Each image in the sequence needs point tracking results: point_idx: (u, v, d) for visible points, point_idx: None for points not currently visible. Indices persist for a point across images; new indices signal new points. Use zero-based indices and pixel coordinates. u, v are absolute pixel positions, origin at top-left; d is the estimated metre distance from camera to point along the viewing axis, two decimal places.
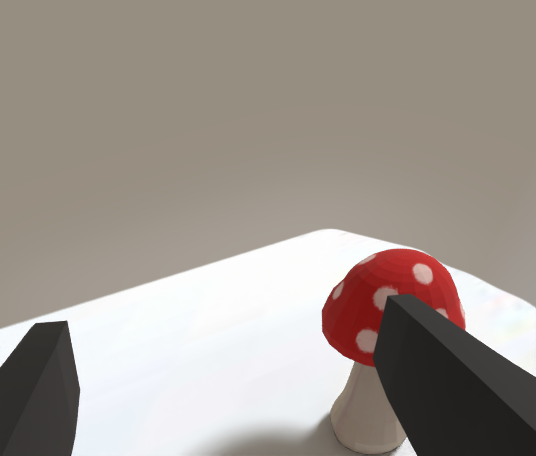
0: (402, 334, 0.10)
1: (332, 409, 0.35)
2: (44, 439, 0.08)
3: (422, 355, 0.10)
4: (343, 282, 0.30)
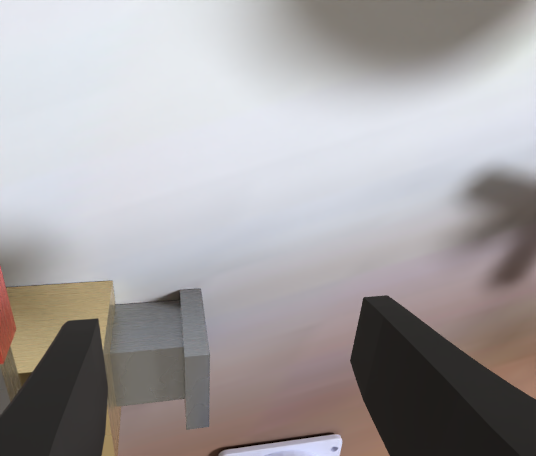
0: (377, 336, 0.10)
1: None
2: (82, 434, 0.08)
3: (395, 358, 0.09)
4: None
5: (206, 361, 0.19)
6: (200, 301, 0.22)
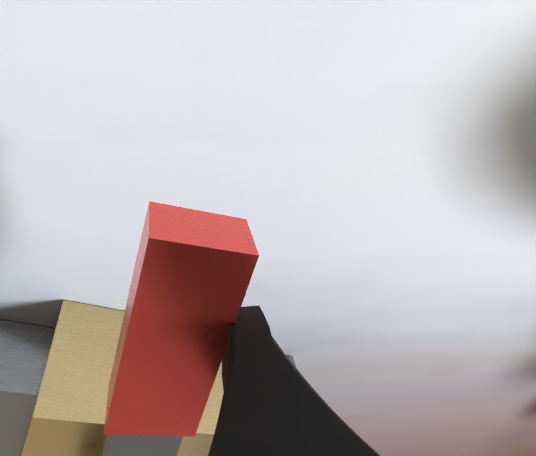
0: (229, 351, 0.09)
1: None
2: None
3: None
4: None
5: None
6: None
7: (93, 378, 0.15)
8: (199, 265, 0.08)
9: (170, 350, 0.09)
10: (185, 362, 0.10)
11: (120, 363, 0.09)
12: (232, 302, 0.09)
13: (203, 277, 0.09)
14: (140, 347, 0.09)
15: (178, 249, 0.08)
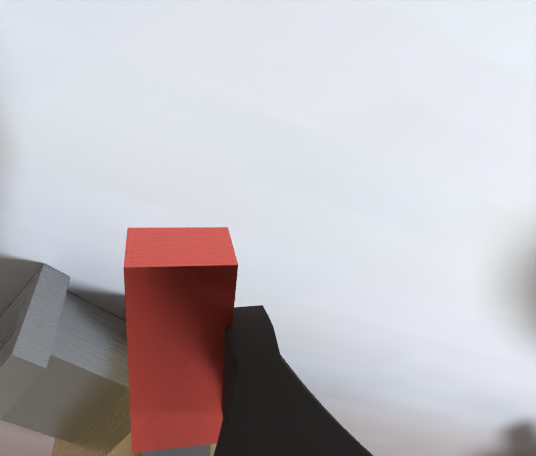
0: (224, 352, 0.09)
1: None
2: None
3: None
4: None
5: None
6: None
7: None
8: (181, 284, 0.09)
9: (174, 367, 0.09)
10: (192, 376, 0.10)
11: (130, 386, 0.10)
12: (224, 313, 0.09)
13: (188, 294, 0.09)
14: (144, 369, 0.09)
15: (156, 272, 0.08)
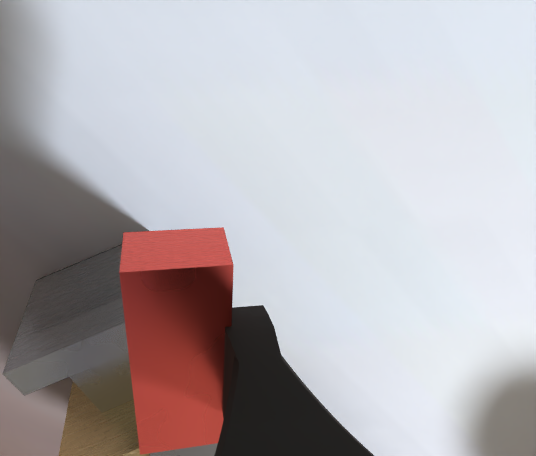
0: (225, 351, 0.09)
1: None
2: None
3: None
4: None
5: None
6: None
7: None
8: (177, 286, 0.09)
9: (176, 369, 0.10)
10: (195, 377, 0.10)
11: (133, 389, 0.10)
12: (222, 313, 0.09)
13: (185, 296, 0.09)
14: (147, 372, 0.09)
15: (152, 276, 0.08)
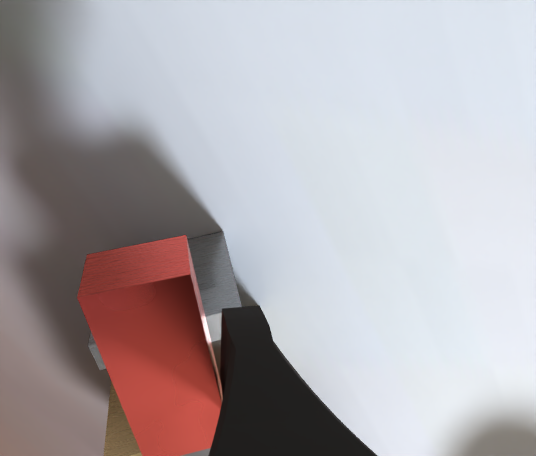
0: (227, 351, 0.09)
1: None
2: None
3: None
4: None
5: None
6: None
7: None
8: (139, 303, 0.09)
9: (160, 381, 0.10)
10: (181, 386, 0.10)
11: (123, 405, 0.10)
12: (192, 322, 0.09)
13: (150, 311, 0.09)
14: (131, 387, 0.09)
15: (111, 297, 0.08)
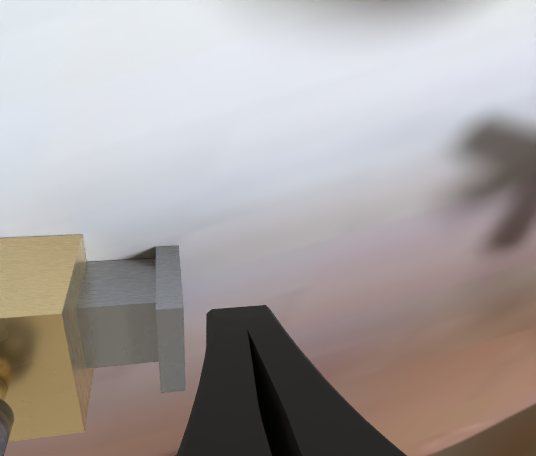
0: None
1: None
2: None
3: (254, 373, 0.09)
4: None
5: (180, 315, 0.18)
6: (177, 257, 0.20)
7: None
8: None
9: None
10: None
11: None
12: None
13: None
14: None
15: None
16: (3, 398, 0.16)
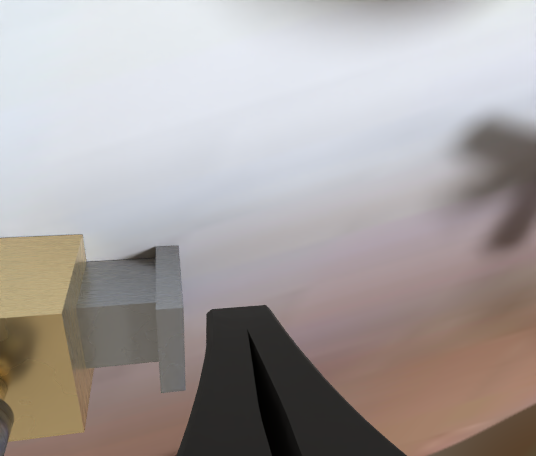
0: None
1: None
2: None
3: (254, 373, 0.09)
4: None
5: (180, 315, 0.18)
6: (177, 257, 0.20)
7: None
8: None
9: None
10: None
11: None
12: None
13: None
14: None
15: None
16: (3, 398, 0.16)
